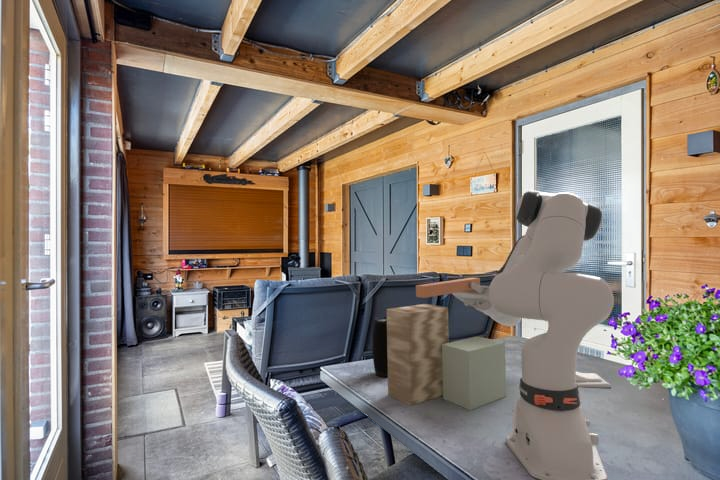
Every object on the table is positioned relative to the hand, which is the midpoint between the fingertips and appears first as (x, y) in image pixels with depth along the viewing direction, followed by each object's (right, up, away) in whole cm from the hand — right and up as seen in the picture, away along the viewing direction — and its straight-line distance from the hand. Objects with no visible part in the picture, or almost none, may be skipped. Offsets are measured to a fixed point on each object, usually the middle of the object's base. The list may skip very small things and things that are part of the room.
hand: (464, 283), depth 135 cm
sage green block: (-1, -32, -16) cm, 36 cm away
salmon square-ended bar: (-6, -3, -4) cm, 8 cm away
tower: (-17, -32, -12) cm, 38 cm away
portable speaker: (-26, -33, +7) cm, 42 cm away
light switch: (+38, -32, -3) cm, 50 cm away
